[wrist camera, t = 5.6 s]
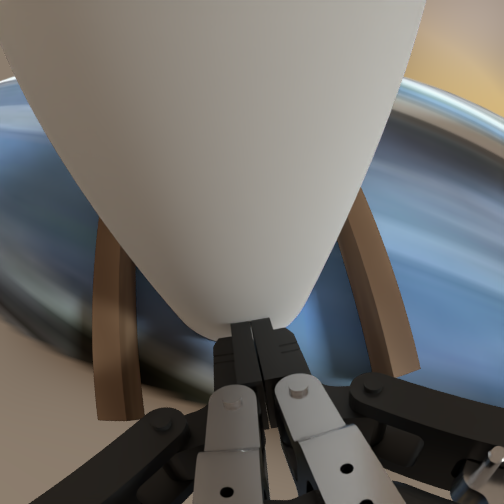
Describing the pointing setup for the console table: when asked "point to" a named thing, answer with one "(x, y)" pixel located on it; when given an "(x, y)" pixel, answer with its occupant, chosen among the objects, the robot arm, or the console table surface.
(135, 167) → the cup
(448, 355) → the console table surface
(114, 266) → the bay
